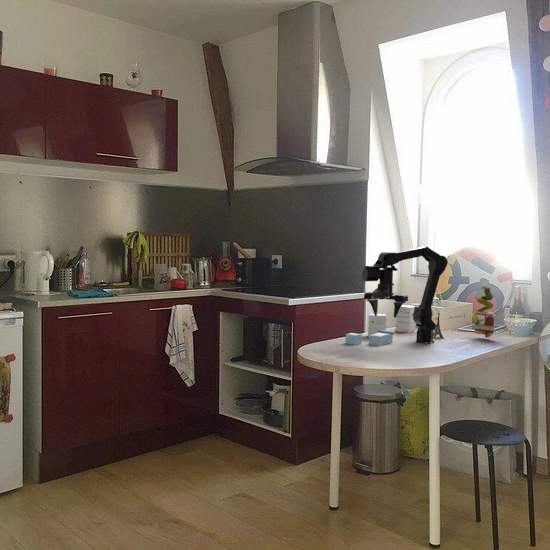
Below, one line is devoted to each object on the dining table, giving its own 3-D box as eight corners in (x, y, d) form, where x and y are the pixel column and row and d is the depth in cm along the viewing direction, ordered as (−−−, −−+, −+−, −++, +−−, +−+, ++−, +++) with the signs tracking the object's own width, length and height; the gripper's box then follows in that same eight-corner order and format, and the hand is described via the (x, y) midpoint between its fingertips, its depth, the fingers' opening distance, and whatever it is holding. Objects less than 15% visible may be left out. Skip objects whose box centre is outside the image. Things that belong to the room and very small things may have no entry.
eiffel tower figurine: (416, 337, 301) (418, 309, 300) (428, 335, 308) (429, 308, 307) (444, 342, 290) (446, 313, 289) (456, 340, 297) (458, 311, 296)
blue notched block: (394, 342, 282) (395, 331, 282) (381, 346, 271) (382, 335, 271) (379, 340, 286) (380, 329, 286) (366, 344, 276) (366, 332, 275)
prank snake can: (465, 336, 304) (468, 284, 303) (482, 336, 308) (485, 284, 306) (482, 341, 294) (485, 287, 292) (499, 340, 298) (502, 287, 296)
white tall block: (401, 329, 321) (402, 304, 320) (415, 331, 317) (416, 306, 316) (394, 331, 315) (396, 305, 314) (409, 332, 311) (410, 307, 310)
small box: (384, 336, 298) (385, 314, 297) (385, 338, 292) (386, 315, 291) (367, 335, 299) (368, 313, 298) (368, 337, 293) (369, 314, 292)
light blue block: (361, 343, 277) (361, 334, 276) (355, 344, 273) (356, 335, 272) (351, 341, 280) (351, 332, 279) (345, 343, 275) (345, 333, 275)
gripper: (358, 281, 277) (357, 316, 278) (397, 283, 266) (397, 320, 268) (370, 279, 286) (369, 314, 287) (408, 281, 275) (408, 317, 277)
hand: (385, 316), depth 280 cm, fingers open, 9 cm apart
